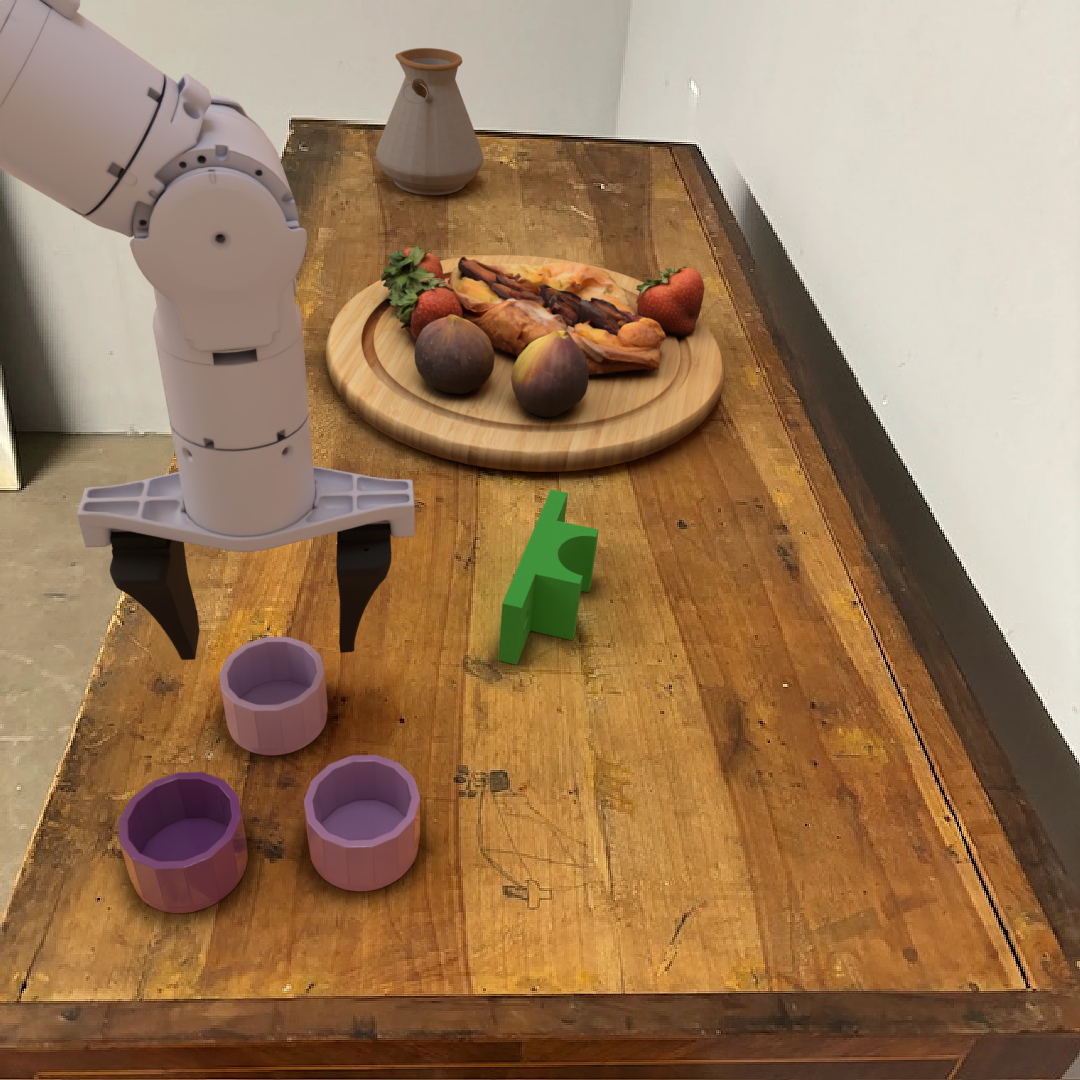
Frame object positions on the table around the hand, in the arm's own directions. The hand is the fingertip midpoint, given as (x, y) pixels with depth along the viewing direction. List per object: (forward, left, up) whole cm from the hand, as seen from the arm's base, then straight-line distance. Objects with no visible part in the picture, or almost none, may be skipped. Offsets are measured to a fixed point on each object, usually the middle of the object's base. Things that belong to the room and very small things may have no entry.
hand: (269, 642), depth 54 cm
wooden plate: (+24, +33, -6) cm, 41 cm away
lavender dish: (0, 0, -6) cm, 6 cm away
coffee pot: (+23, +68, -6) cm, 72 cm away
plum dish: (-5, -8, -6) cm, 11 cm away
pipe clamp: (+17, +5, -6) cm, 19 cm away
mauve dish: (+3, -9, -6) cm, 11 cm away
